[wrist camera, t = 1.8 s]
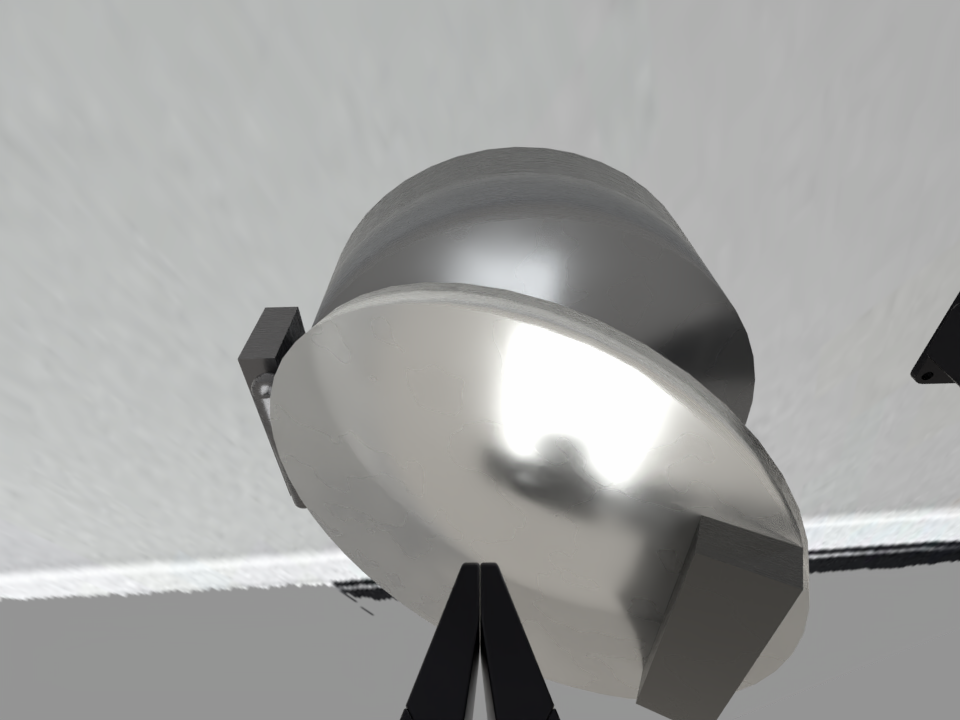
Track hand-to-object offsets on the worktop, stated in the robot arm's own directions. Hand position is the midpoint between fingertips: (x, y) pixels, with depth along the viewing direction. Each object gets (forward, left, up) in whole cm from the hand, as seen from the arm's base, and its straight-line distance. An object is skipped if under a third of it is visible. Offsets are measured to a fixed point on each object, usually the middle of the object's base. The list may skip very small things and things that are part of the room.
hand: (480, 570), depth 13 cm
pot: (-1, +2, -13) cm, 13 cm away
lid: (-1, +2, -3) cm, 4 cm away
